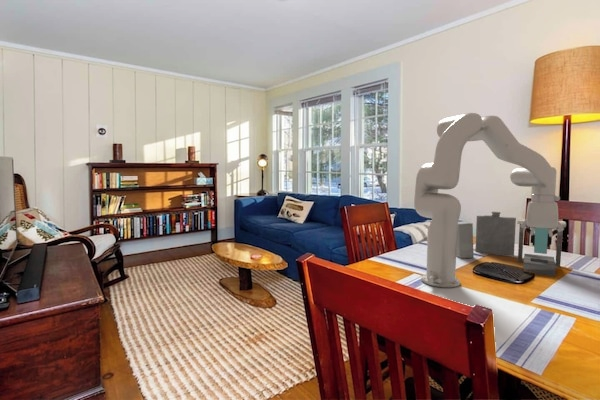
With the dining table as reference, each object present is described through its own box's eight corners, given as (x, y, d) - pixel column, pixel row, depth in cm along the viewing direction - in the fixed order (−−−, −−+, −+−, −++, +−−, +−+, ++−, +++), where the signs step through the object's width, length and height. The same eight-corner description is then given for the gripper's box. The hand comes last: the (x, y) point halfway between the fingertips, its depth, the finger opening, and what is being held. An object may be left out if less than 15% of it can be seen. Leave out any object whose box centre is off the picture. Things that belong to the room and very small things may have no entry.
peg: (546, 251, 133) (547, 226, 132) (546, 253, 130) (548, 228, 129) (534, 250, 135) (535, 225, 134) (534, 252, 132) (535, 227, 131)
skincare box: (473, 258, 152) (475, 223, 150) (457, 258, 152) (459, 223, 150) (465, 253, 160) (466, 220, 159) (449, 253, 160) (451, 220, 159)
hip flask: (513, 254, 158) (516, 212, 156) (514, 256, 154) (516, 213, 152) (475, 250, 166) (477, 210, 164) (475, 252, 162) (476, 211, 160)
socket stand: (565, 278, 124) (568, 228, 122) (513, 271, 133) (516, 224, 131) (562, 266, 139) (564, 221, 137) (515, 260, 148) (518, 218, 146)
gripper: (569, 199, 129) (567, 246, 131) (517, 197, 138) (515, 241, 140) (571, 200, 123) (568, 250, 124) (516, 199, 132) (514, 245, 134)
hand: (540, 245), depth 132 cm, fingers closed on peg, 4 cm apart
